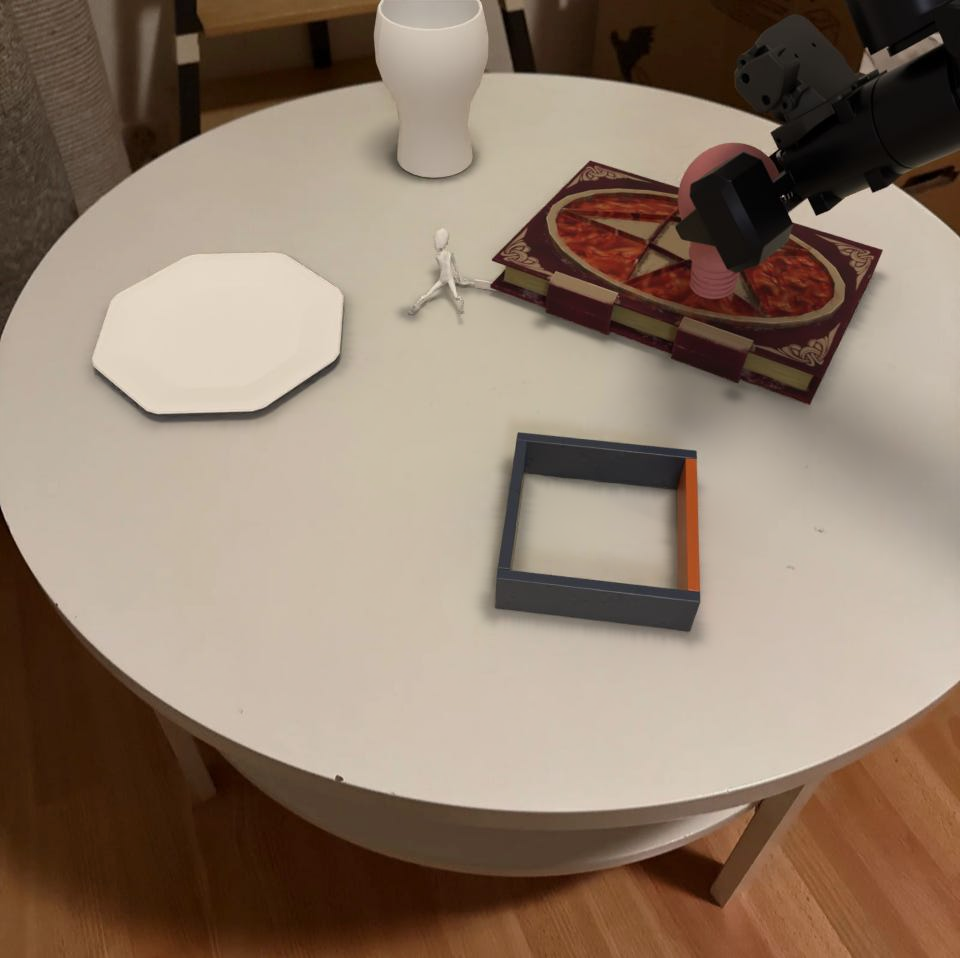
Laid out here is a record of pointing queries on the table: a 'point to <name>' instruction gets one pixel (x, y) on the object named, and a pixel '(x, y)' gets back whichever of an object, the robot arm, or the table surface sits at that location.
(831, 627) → the table surface
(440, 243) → the action figure
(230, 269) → the plate
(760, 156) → the pink screw bulb
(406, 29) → the cup
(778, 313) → the book
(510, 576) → the square frame
